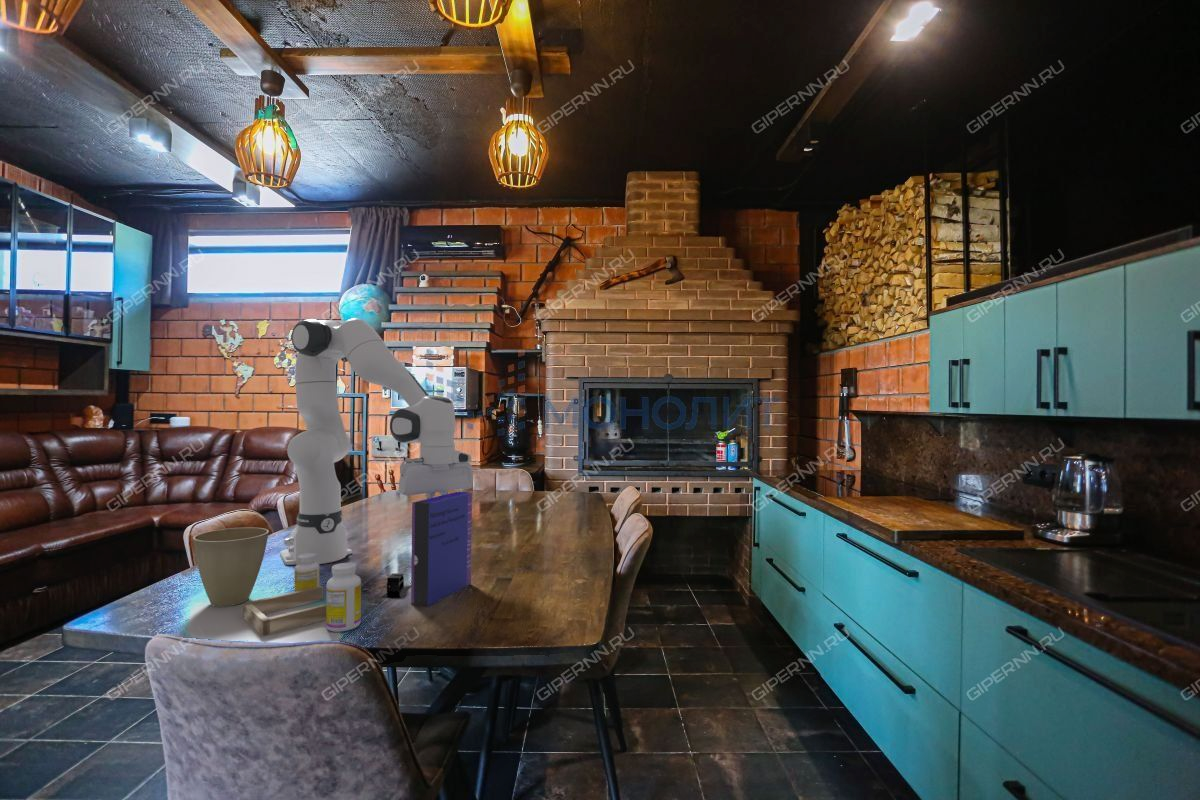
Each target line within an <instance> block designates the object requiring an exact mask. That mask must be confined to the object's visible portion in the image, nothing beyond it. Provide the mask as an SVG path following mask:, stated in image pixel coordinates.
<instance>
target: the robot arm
mask: <svg viewBox="0 0 1200 800" xmlns="http://www.w3.org/2000/svg"><path fill="white" fill-rule="evenodd" d="M291 342H292V346H293V348H294V349H295V350H296V352H298V353H297V355H296V359H295V368H294V373H295V374H294V380H295V395H296V397H295V398H296V407H297V411H298V414H299V415H301V418H302V420H303V422H304V424H305V427H306V430H304V431H302V432H300V433H297V435H295V436H294V437H293V438H291V439H290V441H289V442H288V445H287V449H286V453H287V457H288V458H289V460H290V462H292V463H293V465H294V468H295V471H296V476H297V481H298V487H299V512H298V513H297V516H296V526H295V528H294V529H293V531H292V532H291V533H290V534H289V537H288V538H284V542H283V544H284V546H285V547H288V548H285V549H283V550H280V552H279V555H280V557H281V559H282V561H283V564H284V565H286V566H293V565H295V566H296V565H298V564H299V563H298V556H299V555H301V554H306V553H315V554H316V561H315V562H317V563H318V564H319V565H323V564H328V563H329V564H330V563H333V562H337V561H340V560H342V559H344V558H346V556H348V555H351V554H352V553H353V551H352V549H350V548H348V534H347V533H348V532H347V527H346V526H345V525H343V523H342V521H343V510H342V509H341V508H342V507H341V501H342V500H341V495H342V494H341V493H342V490H341V489H342V486H341V482H340V481H339V479H338V477H337V473H336V469H335V463H337V462H339V461H341V460H342V459H343V458H345V457H347V455H348V454H349V452H350V451H351V446H352V443H351V438H350V436H349V435H348V434H347V432H346V428H345V426H344V422H343V418H342V416H341V412H340V407H339V406H340V405H339V397H338V385H337V375H336V374H337V373H336V366H337V363H338V362H339V361H340V360H341V362H343V363H346V362H348V364H349V365H350V367H351V369H352V370H353V372H354V373H355V374H356V375H357V376H358V377H359V378H360V379H361V380H363V381H365V382H367V383H369V384H372V385H377V386H381V387H384V388H386V389H389V390H391V391H393V392H395V393H397V394H399V396H400V397H401V398H402V399H403V400H404V401H405V402H406V404H407V405H408V406H406V407H404V408H400V409H398V410H395V412H393V414H392V416H391V418H390V421H389V431H390V433H391V436H392V437H393V438H394V440H395V441H397V442H398V443H402V444H414V443H416V444H419V443H420V445H419V446H420V447H419V448H420V451H419V452H420V453H419V455H420V456H419V457H416V458H406V459H405V460H403V461H402V462H401V463H400V465H399V473H400V476H399V482H398V492H399V493H400V494H401V495H402V496H407V497H408V496H416V495H425V497H426V499H429V498H433V497H436V493H438V494H439V496H442V495H446V494H449V492H450V491H457V490H458V491H461V490H465V489H466V490H467V489H471V488H472V487H473V484H474V472H473V466H472V463H471V461H472V455H471V454H469V453H466V452H462V451H460V450H456V443H455V440H454V434H455V431H456V415H455V414H456V413H455V407H454V403H453V401H452V400H451V399H450V398H448V397H445V396H442V395H441V396H440V395H432V394H431V395H429V394H428V392H427V391H426V390H425V389H424V387H423V386H422V385H421V384H420V383H419V381H418V380H417V379H416V378H415V376H414V375H413V374H412V373H411V372H410V371H409V370H408V369H407V368H406V367H405V366H404V365H403V364H402V363H401V362H400V361H399V360H398V359H397V357H395V356H394V354H393V353H392V352H391V351H390V349H389V348H388V346H387V345H386V343H385V342H384V340H383V339H382V338H381V336H380V335H379V333H378V332H377V331H376V330H375V329H374V328H373V327H372V325H371V324H369V323H368V321H366V320H364V319H362V318H349V319H347V320H345V321H341V320H335V319H334V320H333V319H329V320H328V319H327V320H326V319H314V318H310V319H303V320H299V321H298V322H297V323H296V324H295V325H294V327H293V329H292V331H291Z"/></svg>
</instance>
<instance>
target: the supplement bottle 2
mask: <svg viewBox="0 0 1200 800" xmlns="http://www.w3.org/2000/svg"><path fill="white" fill-rule="evenodd" d="M356 571H357V564H356V563H354V562H342V563H336V564H334V565H332V567H331V574H332V577H330V578H329V579H328V580H327V582H326V588H325V589H326V592H325V593H326V595H325V597H326V603H325V604H326V620H325V621H326V623H325V625H326V629H327V630H329V631H331V632H334V633H343V632H347V631H351V630H354V629H355V628H357V627H358V626H360V624H361V622H362V578H361V577H360V576H359V575H357V574H356Z"/></svg>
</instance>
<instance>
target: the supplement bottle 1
mask: <svg viewBox="0 0 1200 800" xmlns="http://www.w3.org/2000/svg"><path fill="white" fill-rule="evenodd" d="M315 561H316V554H315V553H306V554H301V555H299V556H298V563H299V564H295V567H294V592H296V591H301V590H305V589H310V588H314V587H319V586H321V585H320V580H321V579H320V578H321V577H320V576H321V575H320V564H318V563H317V562H315Z"/></svg>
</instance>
